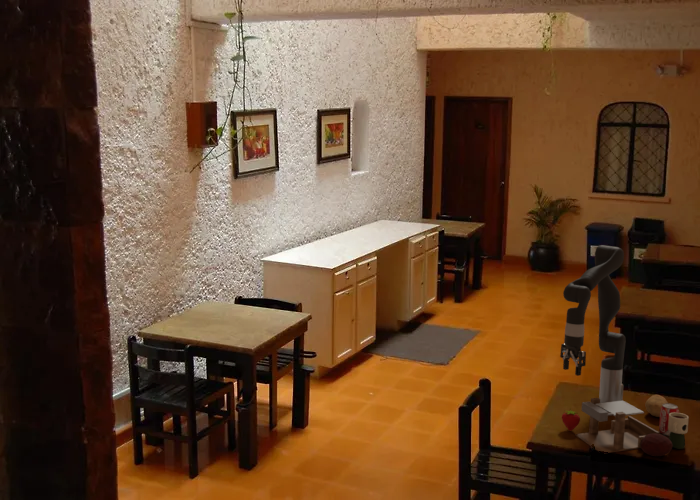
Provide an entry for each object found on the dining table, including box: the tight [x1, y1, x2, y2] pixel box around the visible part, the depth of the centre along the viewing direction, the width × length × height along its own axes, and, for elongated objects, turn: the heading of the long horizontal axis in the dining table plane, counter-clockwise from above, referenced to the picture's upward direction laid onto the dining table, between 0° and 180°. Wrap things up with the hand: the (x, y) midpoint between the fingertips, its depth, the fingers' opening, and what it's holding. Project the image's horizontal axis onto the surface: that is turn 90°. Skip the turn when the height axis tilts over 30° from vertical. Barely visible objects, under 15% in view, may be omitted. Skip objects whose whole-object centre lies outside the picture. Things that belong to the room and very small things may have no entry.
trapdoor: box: [581, 400, 645, 423], centre depth 300 cm, size 20×13×4 cm, turn 107°
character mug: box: [668, 412, 690, 450], centre depth 296 cm, size 11×7×13 cm, turn 142°
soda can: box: [658, 402, 680, 437], centre depth 309 cm, size 7×7×12 cm
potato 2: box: [640, 433, 674, 457], centre depth 289 cm, size 12×11×8 cm
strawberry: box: [561, 409, 581, 432], centre depth 312 cm, size 6×8×10 cm
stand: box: [574, 397, 660, 454], centre depth 302 cm, size 26×18×15 cm
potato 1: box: [644, 394, 669, 418], centre depth 329 cm, size 10×14×8 cm
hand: (571, 372), depth 309 cm, fingers open, 8 cm apart
